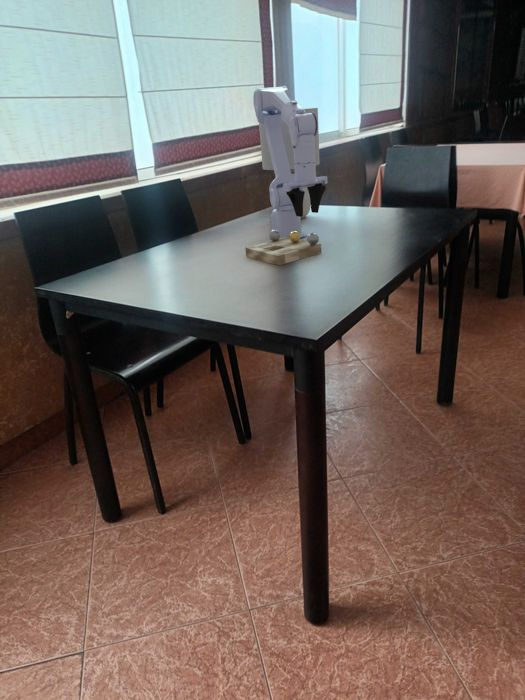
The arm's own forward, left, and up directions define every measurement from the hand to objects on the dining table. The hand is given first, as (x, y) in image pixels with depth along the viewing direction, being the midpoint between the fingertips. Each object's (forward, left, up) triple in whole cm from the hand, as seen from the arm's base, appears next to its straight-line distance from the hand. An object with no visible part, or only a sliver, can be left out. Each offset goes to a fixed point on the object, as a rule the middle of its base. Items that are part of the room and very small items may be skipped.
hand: (307, 214), depth 138 cm
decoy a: (-6, -7, -5) cm, 11 cm away
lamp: (-37, +26, -10) cm, 47 cm away
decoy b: (+7, -4, -5) cm, 9 cm away
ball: (0, -5, -5) cm, 7 cm away
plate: (0, -9, -9) cm, 13 cm away
